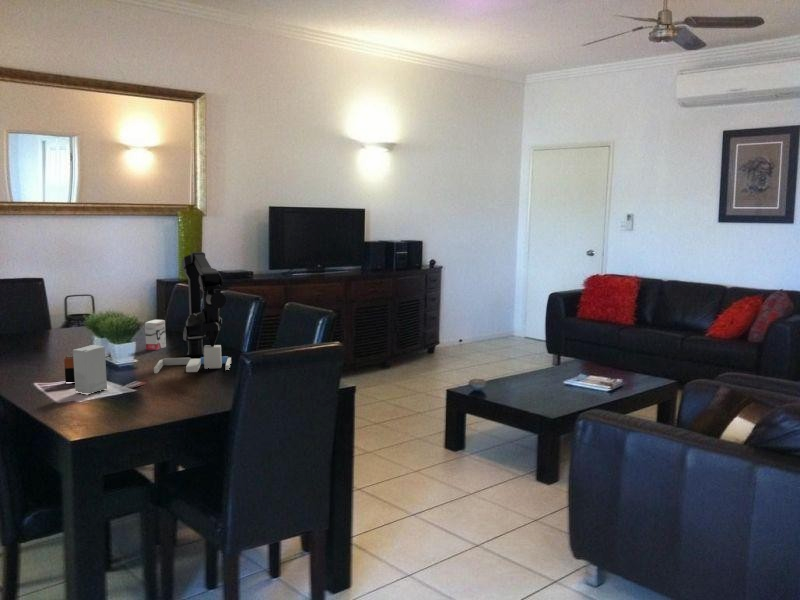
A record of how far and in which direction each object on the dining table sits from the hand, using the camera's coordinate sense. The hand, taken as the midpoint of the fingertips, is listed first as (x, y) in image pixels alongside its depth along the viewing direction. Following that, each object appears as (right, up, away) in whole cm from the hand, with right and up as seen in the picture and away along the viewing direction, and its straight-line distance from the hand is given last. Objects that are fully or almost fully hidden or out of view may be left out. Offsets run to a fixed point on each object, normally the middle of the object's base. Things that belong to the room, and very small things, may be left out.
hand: (212, 346), depth 271 cm
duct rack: (-7, -8, 0) cm, 11 cm away
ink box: (-33, -3, +37) cm, 50 cm away
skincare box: (-30, -13, -35) cm, 48 cm away
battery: (-41, -11, -23) cm, 48 cm away
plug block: (0, -8, +1) cm, 8 cm away
